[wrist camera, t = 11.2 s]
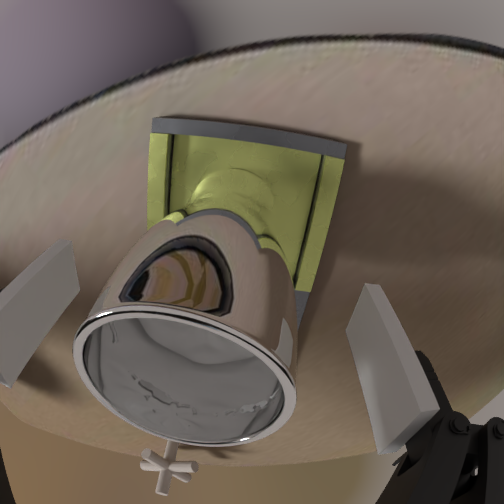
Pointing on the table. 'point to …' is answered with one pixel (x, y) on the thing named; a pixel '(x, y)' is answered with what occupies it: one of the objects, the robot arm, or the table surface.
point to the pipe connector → (167, 466)
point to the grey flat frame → (262, 165)
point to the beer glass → (199, 322)
